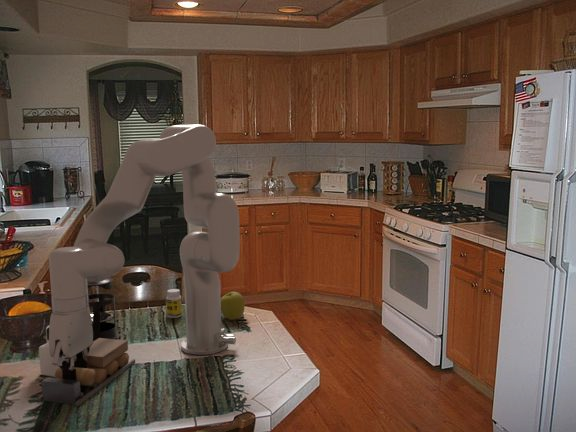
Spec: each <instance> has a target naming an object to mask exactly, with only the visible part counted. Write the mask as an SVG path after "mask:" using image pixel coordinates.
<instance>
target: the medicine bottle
mask: <svg viewBox="0 0 576 432" xmlns="http://www.w3.org/2000/svg"><path fill="white" fill-rule="evenodd" d="M45 333H46V335H45V336H46V343H44V344H42V345H40V346H39V347H38V353H39V357H38V358H39V367H40V368H39V369H40V375H42V376H47V377H52V378H55V373H56V370H57V369H58V367H59V366H57V365H53V364H52V361H53V357H51V356H50V352H49V325H47V326H46V327H45ZM65 361H67V362H68V363H69V359H65Z"/></svg>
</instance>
